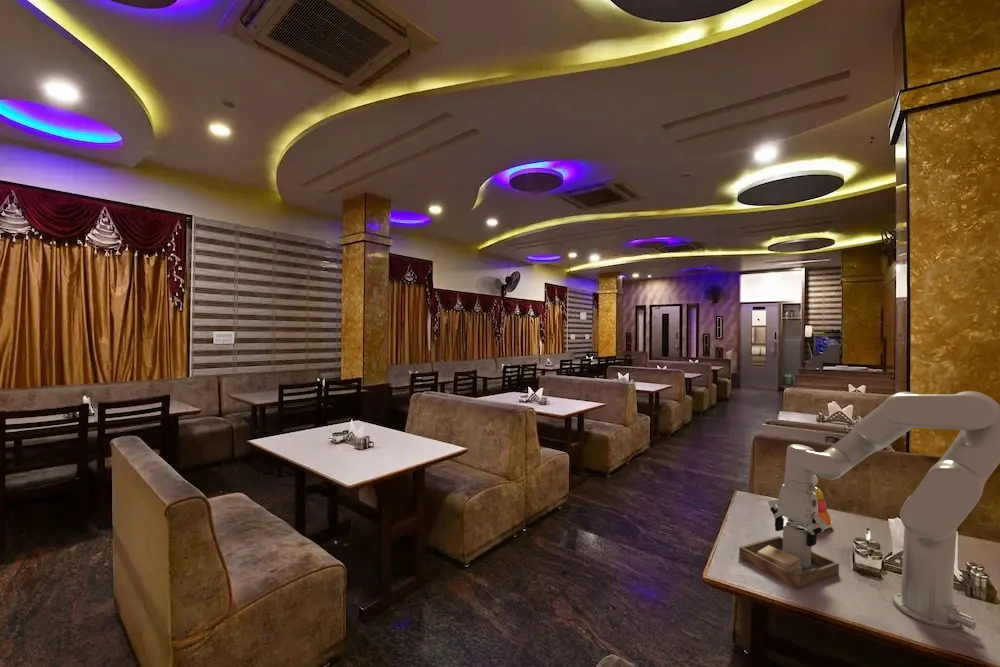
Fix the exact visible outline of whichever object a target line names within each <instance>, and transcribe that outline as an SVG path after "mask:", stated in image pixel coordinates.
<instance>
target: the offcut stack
mask: <svg viewBox="0 0 1000 667" xmlns="http://www.w3.org/2000/svg"><path fill="white" fill-rule="evenodd" d="M757 555H759V556H760V557H762V558H764V559H766V560H768V561H770V562H772V563H774V564H776V565H778V566H780V567H782V568H784V569H785V570H787V571H789V572H791V573H793V574H795V575H797V576H798V575H801V574H803V568H802V567H801V566H800V564H801V558H799V557H796V556H794V555H791V554H789V553H786V552H784V551H782V549H780V548H774V547H772V546H769V545H768V546H766V547H764V548H763V549H761V550H759V551H758V552H757Z"/></svg>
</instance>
